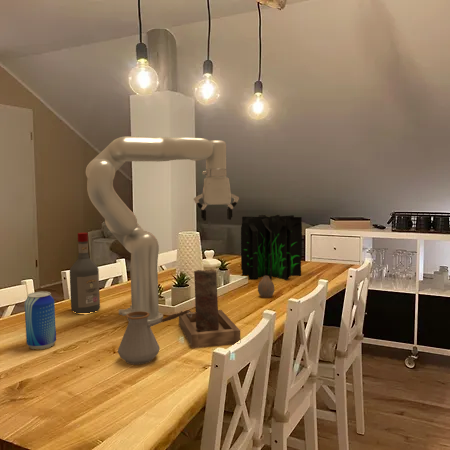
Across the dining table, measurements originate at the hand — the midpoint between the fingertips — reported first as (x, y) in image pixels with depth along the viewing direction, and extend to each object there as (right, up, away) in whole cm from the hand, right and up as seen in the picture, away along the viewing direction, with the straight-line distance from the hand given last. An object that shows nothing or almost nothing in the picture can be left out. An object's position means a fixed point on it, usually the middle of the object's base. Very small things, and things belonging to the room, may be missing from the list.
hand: (216, 219), depth 182 cm
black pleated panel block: (+27, -28, +66) cm, 76 cm away
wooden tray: (-3, -37, -25) cm, 45 cm away
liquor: (-50, -35, +3) cm, 61 cm away
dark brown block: (-3, -36, -25) cm, 44 cm away
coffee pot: (-16, -40, -48) cm, 64 cm away
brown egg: (+20, -32, +22) cm, 44 cm away
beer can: (-53, -39, -35) cm, 74 cm away
